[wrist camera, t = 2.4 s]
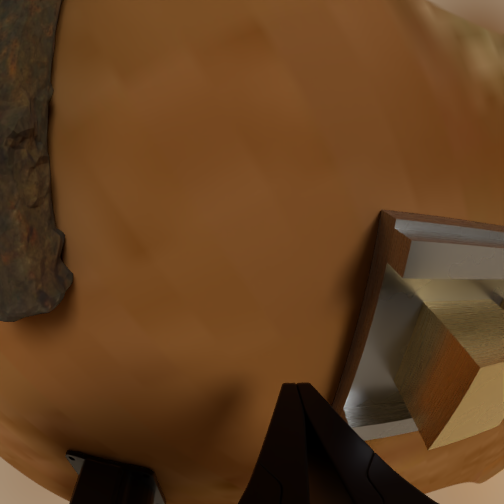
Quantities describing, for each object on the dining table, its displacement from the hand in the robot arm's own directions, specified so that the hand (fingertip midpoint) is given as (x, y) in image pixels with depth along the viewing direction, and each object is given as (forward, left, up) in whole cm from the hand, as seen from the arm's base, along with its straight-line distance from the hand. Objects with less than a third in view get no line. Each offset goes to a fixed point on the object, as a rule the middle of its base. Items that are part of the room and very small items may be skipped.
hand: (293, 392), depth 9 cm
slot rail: (0, -10, -3) cm, 11 cm away
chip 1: (0, -7, -2) cm, 7 cm away
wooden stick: (+11, +10, -4) cm, 16 cm away
